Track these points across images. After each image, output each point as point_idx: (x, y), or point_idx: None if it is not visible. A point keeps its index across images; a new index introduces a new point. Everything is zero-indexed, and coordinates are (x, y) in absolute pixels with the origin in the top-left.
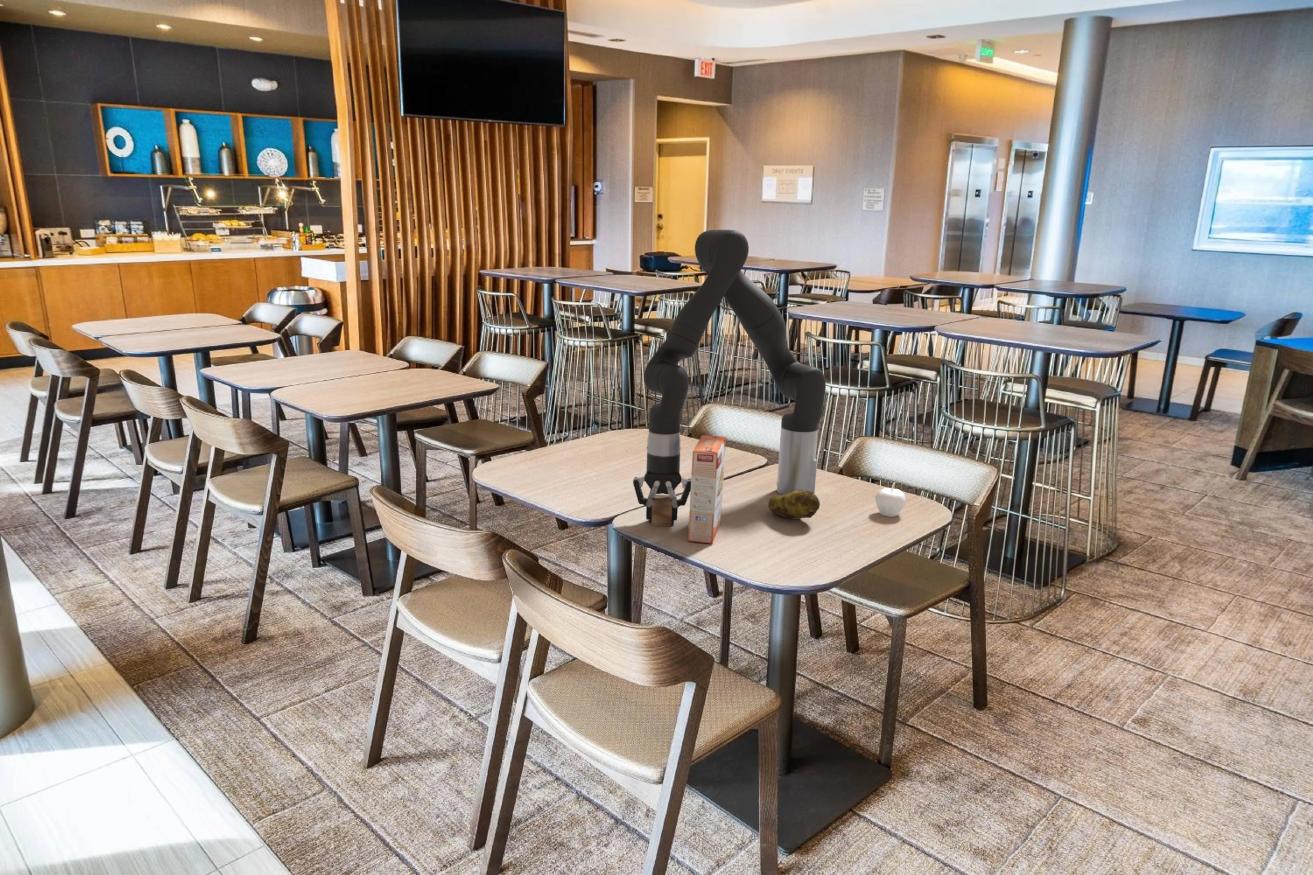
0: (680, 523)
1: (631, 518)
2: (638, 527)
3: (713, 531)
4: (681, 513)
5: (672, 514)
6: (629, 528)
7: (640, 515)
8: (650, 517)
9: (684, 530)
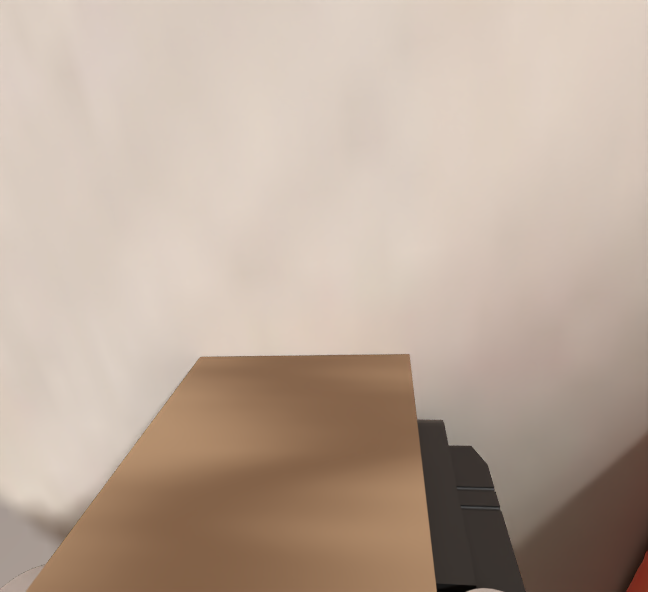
0: (509, 444)
1: (8, 363)
2: None
3: None
4: (557, 111)
5: None
6: None
7: (56, 272)
8: None
9: (534, 582)
